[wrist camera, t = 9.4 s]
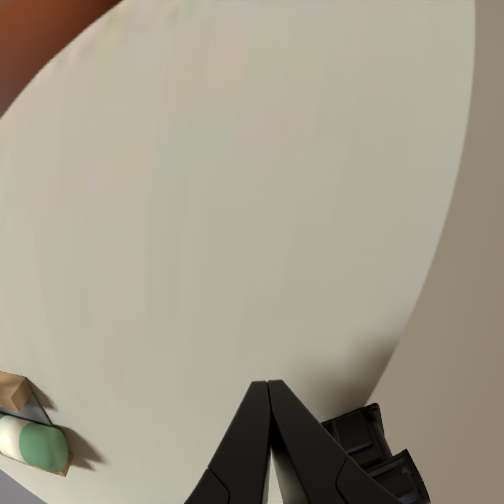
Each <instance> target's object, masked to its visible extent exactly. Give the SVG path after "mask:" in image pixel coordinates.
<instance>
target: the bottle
mask: <svg viewBox="0 0 504 504" xmlns="http://www.w3.org/2000/svg"><path fill="white" fill-rule="evenodd" d="M0 453H1V454H4V455H6V456H8V457H10V458H13V459H15V460H18V461H21V462H23V463H26V464H29V465H33V466H36V467H39V468H42V469H45V470H48V471H51V472H56V473H57V472H60V471H61V470H62V469H63V468H64V467H65V465H66V462H67V458H68V446H67V441H66V438H65V436H64V434H63V433H62V432H61V431H60V430H59V429H56V428H52V427H48V426H44V425H40V424H36V423H34V422H30V421H26V420H23V419H19V418H16V417H13V416H8V415H5V414H2V413H0Z"/></svg>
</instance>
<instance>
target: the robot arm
mask: <svg viewBox="0 0 504 504" xmlns="http://www.w3.org/2000/svg"><path fill="white" fill-rule="evenodd" d="M271 452H272V457H273V462H274V466H275V470H276V474H277V478H278V483H279V487H280V491H281V495H282V499H283V503H284V504H430V503H431V502H430V498H429V495H428V492H427V490H426V487H425V485H424V482H423V480H422V478H421V476H420V474H419V472H418V470H417V468H416V466H415V464H414V462H413V460H412V458H411V456H410V454H409V452H408V450H407V449H405V450H403V451H402V452H401V453H399V454H397V455H395V456H392V453H391V451H390V449H389V446H388V444H387V442H386V439H385V437H384V429H383V424H382V419H381V413H380V408H379V405H378V404H377V403H373V404H371V405H368V406H366V407H363V408H361V409H358V410H356V411H353V412H351V413H348V414H345V415H343V416H340V417H337V418H335V419H332V420H329V421H326V422H323V423H321V424H320V423H319V422H318V421H317V419H316V418H315V417H314V416H313V415H312V414H311V413H310V411H309V410H308V409H307V408H306V407H305V406H304V405H303V403H302V402H301V401H300V400H299V399H298V398H297V396H296V395H295V394H294V393H293V392H292V391H291V389H290V388H289V387H288V386H287V385H286V384H285V382H284V381H283V380H269V381H268V382H266V381H253V382H252V383H251V384H250V386H249V388H248V390H247V392H246V394H245V396H244V398H243V400H242V402H241V404H240V406H239V408H238V410H237V412H236V414H235V416H234V418H233V420H232V422H231V424H230V425H229V427H228V429H227V431H226V433H225V435H224V437H223V439H222V441H221V443H220V444H219V446H218V448H217V450H216V452H215V454H214V456H213V457H212V459H211V461H210V463H209V465H208V469H206V470H205V472H204V473H203V475H202V477H201V479H200V480H199V482H198V484H197V485H196V487H195V489H194V490H193V492H192V493H191V495H190V496H189V497H188V499H187V500H186V501H185V503H184V504H267V502H268V489H269V475H270V460H271Z"/></svg>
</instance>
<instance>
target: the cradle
mask: <svg viewBox="0 0 504 504" xmlns="http://www.w3.org/2000/svg"><path fill="white" fill-rule="evenodd" d="M0 413H2V414H5V415H8V416H13V417H16V418H19V419H23V420H26V421H30V422H34V423H36V424H40V425H44V426H48V427H52V428H54V427H53V425H52V424H51V422H50V421H49V419H48V417H47V416H46V414H45V412H44V410H43V409H42V407H41V405H40V403H39V402H38V400H37V398H36V396H35V394H34V393H33V390H32V389H31V387H30V385H29V383H28V381H27V379H26V377H24V376H19V375H14V374H10V373H5V372H1V371H0ZM0 454H1V453H0ZM1 455H4V454H1ZM4 456H6V455H4ZM6 457H8V456H6ZM8 458H10V457H8ZM11 459H13V458H11ZM72 459H73V456H72V454H71V453H70V451H69V450H68V458H67V462H66V465H65V467H64V468H63V469H62V470H61V471H60V472H57V473H56V472H51V471H48V470H45V469H42V468H39V467H36V466H33V465H30V466H32V467H35V468H38V469H41V470H44V471H47V472H51V473H54V474H57V475H61V476H64V477H66V474H67V472H68V469H69V467H70V464H71V462H72ZM13 460H15V459H13ZM16 461H18V460H16ZM19 462H21V461H19ZM21 463H23V462H21ZM24 464H26V463H24ZM27 465H29V464H27Z"/></svg>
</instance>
